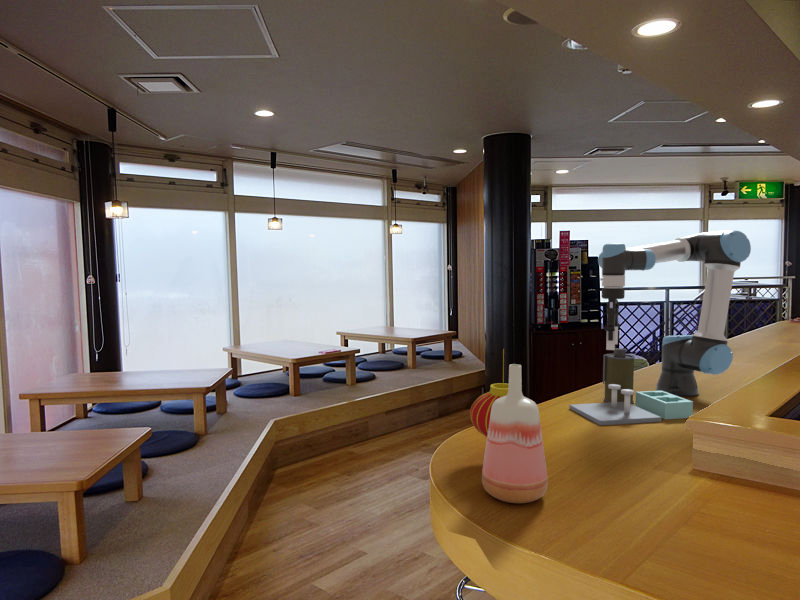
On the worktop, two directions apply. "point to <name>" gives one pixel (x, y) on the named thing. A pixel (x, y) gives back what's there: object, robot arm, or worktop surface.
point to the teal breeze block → (664, 404)
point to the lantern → (487, 405)
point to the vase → (514, 447)
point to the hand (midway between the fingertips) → (612, 346)
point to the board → (615, 410)
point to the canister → (618, 373)
